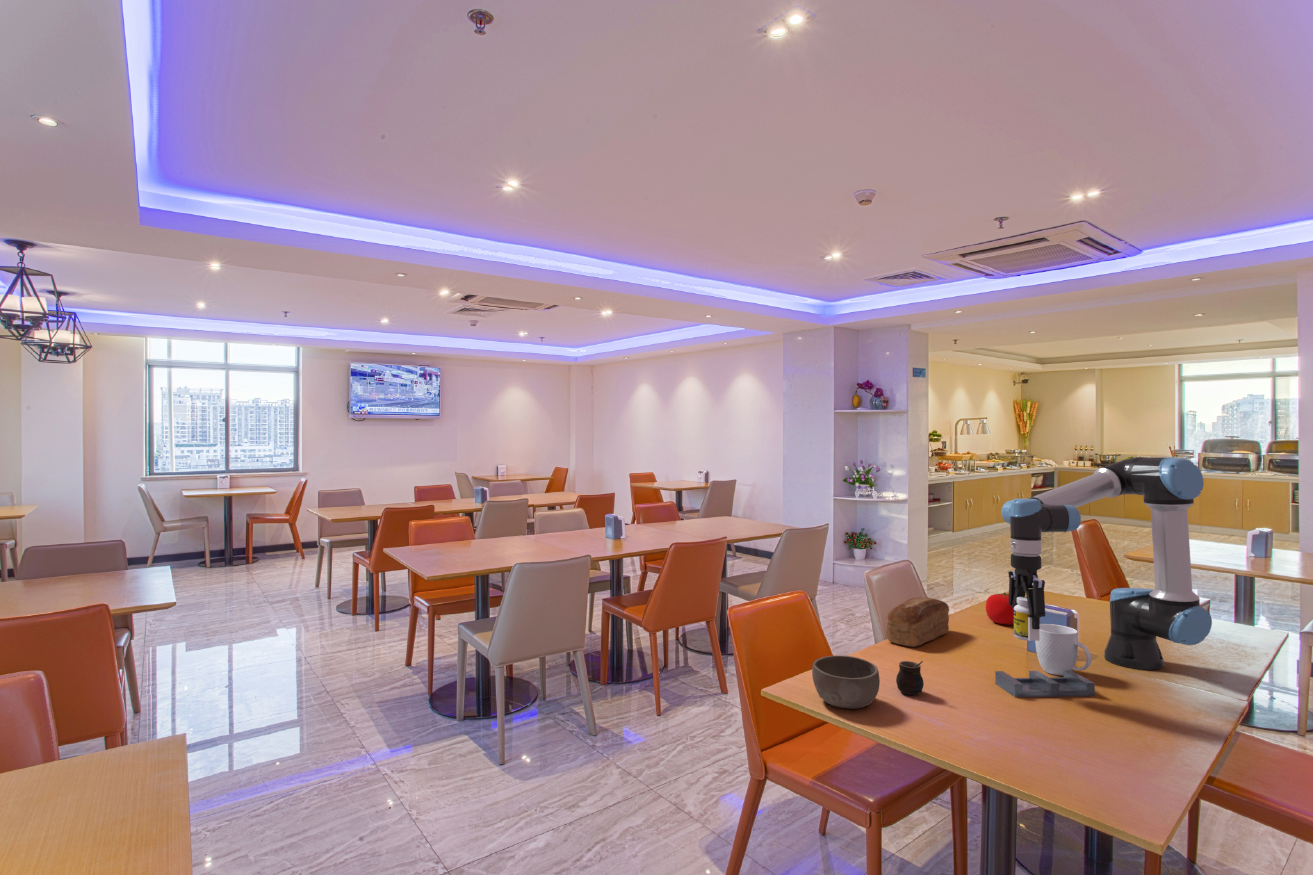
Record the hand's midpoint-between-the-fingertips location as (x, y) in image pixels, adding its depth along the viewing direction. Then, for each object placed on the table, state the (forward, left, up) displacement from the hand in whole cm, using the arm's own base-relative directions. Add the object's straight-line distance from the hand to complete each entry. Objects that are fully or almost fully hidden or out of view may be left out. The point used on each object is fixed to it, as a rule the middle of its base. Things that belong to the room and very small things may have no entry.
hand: (1026, 636), depth 183 cm
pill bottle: (0, 0, -1) cm, 1 cm away
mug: (-18, -13, -15) cm, 27 cm away
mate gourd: (+33, +1, -15) cm, 36 cm away
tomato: (-31, -67, -15) cm, 75 cm away
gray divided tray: (-5, 0, -15) cm, 16 cm away
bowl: (+53, +7, -15) cm, 56 cm away
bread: (+9, -50, -15) cm, 53 cm away
